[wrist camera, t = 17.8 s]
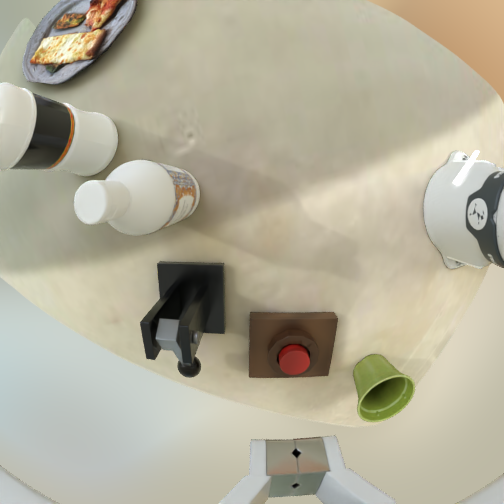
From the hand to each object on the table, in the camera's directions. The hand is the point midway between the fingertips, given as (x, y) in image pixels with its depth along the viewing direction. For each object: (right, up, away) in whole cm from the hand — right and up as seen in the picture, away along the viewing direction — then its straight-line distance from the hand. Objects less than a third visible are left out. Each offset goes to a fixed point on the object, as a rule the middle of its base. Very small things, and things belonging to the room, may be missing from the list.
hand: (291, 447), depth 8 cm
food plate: (-32, +46, +20) cm, 60 cm away
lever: (-10, -4, +24) cm, 26 cm away
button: (+4, -7, +28) cm, 29 cm away
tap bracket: (-10, +1, +30) cm, 31 cm away
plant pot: (+18, -12, +33) cm, 39 cm away
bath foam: (-11, +14, +27) cm, 33 cm away
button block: (+4, -6, +31) cm, 32 cm away
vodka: (-24, +23, +25) cm, 42 cm away
